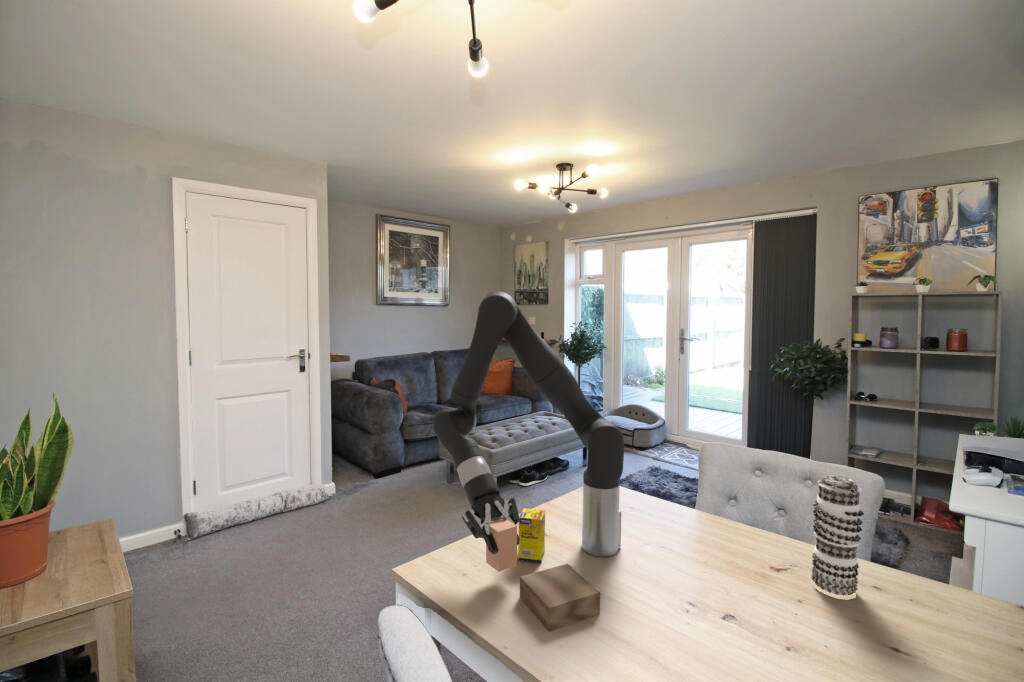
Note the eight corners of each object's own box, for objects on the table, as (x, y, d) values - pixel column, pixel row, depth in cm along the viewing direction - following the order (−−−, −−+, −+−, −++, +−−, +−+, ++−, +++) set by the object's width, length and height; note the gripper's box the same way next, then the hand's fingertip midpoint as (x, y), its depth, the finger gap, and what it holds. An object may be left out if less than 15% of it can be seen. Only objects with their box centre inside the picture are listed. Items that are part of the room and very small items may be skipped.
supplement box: (541, 563, 116) (542, 519, 115) (517, 561, 117) (518, 517, 117) (545, 551, 122) (545, 509, 121) (522, 549, 123) (522, 507, 122)
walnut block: (566, 585, 108) (567, 563, 107) (599, 615, 97) (600, 591, 97) (519, 599, 102) (519, 576, 102) (548, 633, 92) (549, 607, 91)
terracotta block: (504, 555, 111) (504, 517, 111) (517, 564, 107) (517, 525, 107) (486, 562, 108) (486, 523, 108) (498, 572, 104) (498, 531, 104)
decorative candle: (853, 583, 109) (859, 475, 107) (863, 606, 100) (870, 489, 99) (806, 574, 113) (811, 469, 111) (812, 594, 104) (818, 482, 103)
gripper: (456, 478, 108) (485, 552, 99) (508, 466, 117) (539, 532, 108) (445, 494, 113) (472, 565, 104) (495, 481, 121) (524, 546, 113)
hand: (506, 548), depth 106 cm, fingers closed on terracotta block, 5 cm apart
